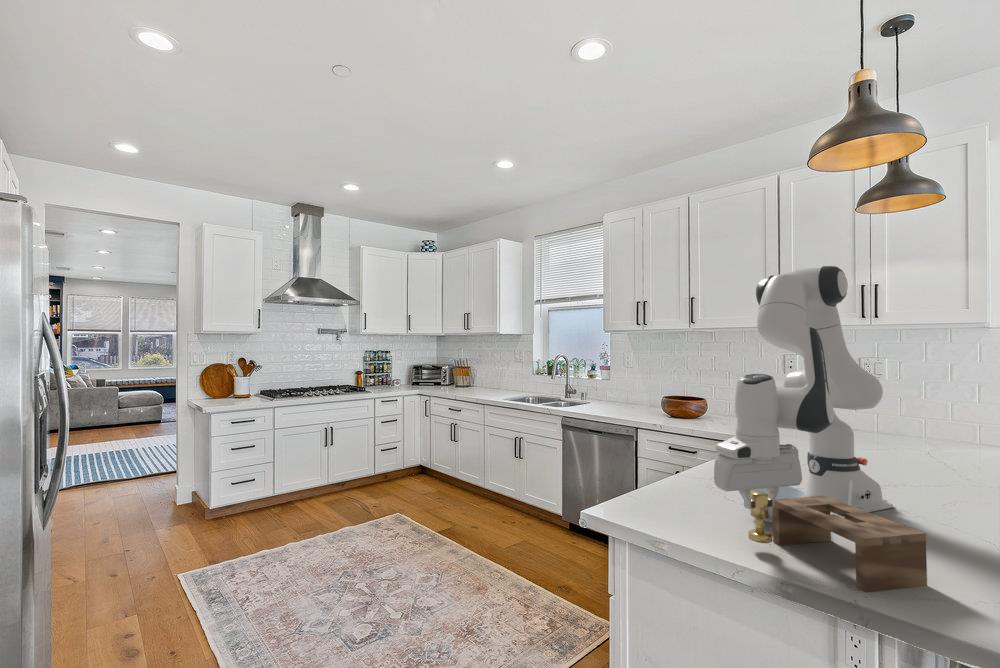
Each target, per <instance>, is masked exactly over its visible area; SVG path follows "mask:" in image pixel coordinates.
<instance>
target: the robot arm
mask: <svg viewBox="0 0 1000 668" xmlns="http://www.w3.org/2000/svg"><path fill="white" fill-rule="evenodd" d="M845 274H846V273H845V272H844V271H843V269H841V268H840V267H838V266H834V265H823V266H821V267H812V268H811V267H810V268H802V269H796V270H794V271H788V272H783V273H780V274H777V275H770V276H766V277H764V278H762V279H761V280H760V281H759V282H758V283H757V285H756V288H755V289H756V290H755V298H756V301H757V303H758V305H759V307H758V311H757V318H756V327H757V331H758V333H759V335H760V336H761V337H762V339H764V340H765V341H766V342H768V343H769V344H771V345H773V346H775V347H777V348H780V349H783V350H786V351H789V352H792V353H795V354H797V355H799V356H801V357H802V358H803V363H804V366H803V367H804V369H799V370H794V371H791V372H789V373H788V374H787V375H786V376H785V378H784V380H783V385H782V386H777V384H776V381H775V378H774V376H771V375H769V374H765V373H751V374H745V375H742V376H741V377H739V378H737V381H736V388H735V396H734V399H735V400H734V413H735V418H736V420H737V421H736V423H737V424H736V428H735V435H734V436H732V437H730V438H729V439H725V440H724V441H723V440H722V442H719V443H717V444H716V445H715V452H716V453H717V454H718V455H717V456H716V458H715V460H714V466H713V468H714V469H713V470H714V471H713V483H714V484H715V486H716V487H717V488H718V489H719V490H722V491H725V492H736V491H737V492H738V493H739V495H740V496H741V498H742V499H743V507H744V508H746V509H748V510H751V509H753V508H755V501H753V500H751V499H750V497H749V495H748V494H750V489H762V488H767V489H768V490H769V491H768V507H774V499H775V498H776V496H777V494H778V492H779V487H785V486H790V487H795V486H796V487H797V486H800V484H801V483H802V482H803V474H802V466H801V460H800V458H799V449H798V448H797V447H796V446H795V445H794V444H792V443H785V444H780V441H781V440H780V431H779V429H789V430H796V431H801V432H807V435H808V436H807V437H808V452H807V455H806V458H807V459H806V460H807V461H806V463H807V467H808V471H807V481H806V485H805V486H806V487H805V491H804V492H805V493H806V497H812V496H825V497H828V498H831V499H834V500H836V501H839V502H842V503H845V504H847V505H850V506H853V507H855V508H858V509H861V510H864V511H866V512H869V513H873V512H878V511H882V510H887V509H892V508H894V505H893V504H894V503H892V502H891V501H890V500H886V499H884V498H883V493H882V487H881V485H880V484H879V482H878V481H875V480H874V479H873V478H872V477H871V476H869V475H868V474H866V473H865V472H864V471H863V470H862V469H861V466H860V465H862V466H867V465H868V461H869V460H868V459H867V458H863V457H856V455H855V433H854V430H853V429H852V427H851V426H850V425H849V424H848V423H846V422H844V421H843V420H841V419H840V418H839V416H838V415H837V414H836V412H835V410H834V409H841V410H842V409H844V410H851V411H856V410H857V411H858V410H868V409H869V410H870V409H874V408H875V407H877V406H878V404H879V403H880V402H881V400H882V397H883V394H884V393H883V392H884V391H883V386H882V383H881V381H880V380H879V379H878V378H877V377H876V376H875V375H873V374H871V373H870V372H868V371H866V370H865V369H864V368H863V367H862V366H860V364H859V363H857V361H855V359H854V358H853V357H852V355H851V353H850V352H849V350H848V348H847V345H846V341H845V337H844V333H843V330H842V329H843V328H842V324H841V318H840V315H839V311H838V308H837V305H838V304H840V303H841V302H843V300H844V299H845V298H846V297H847V294H848V288H849V287H848V286H849V283H848V280H847V277H846V275H845Z"/></svg>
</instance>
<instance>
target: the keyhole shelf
mask: <svg viewBox="0 0 1000 668" xmlns="http://www.w3.org/2000/svg"><path fill="white" fill-rule="evenodd" d="M831 513H833V514H831ZM772 514H773V523H772V543H775V544H776V545H778V546H784V545H785V546H787V545H795V544H806V543H807V544H808V543H818V542H829V541H832V533H833V534H835V535H838V536H840V537H842V538H844V539H847V540H849V541H851V542H853V543H855V544H854V545H855V546H854V547H855V549H854V550H855V584H856V585H855V587H856V588H857V589H859V590H860V591H863V592H865V593H871V592H879V591H881V592H882V591H888V590H889V591H890V590H897V589H898V590H899V589H906V588H915V587H923V586H928V566H927V565H928V564H927V534H926V532H924V531H921V530H918V529H916V528H913V527H910V526H908V525H904V524H902V523H899V522H897V521H894V520H890V519H889V518H888V519H887V518H886V517H883V516H880V515H877V514H874V513H873V512H866V511H864V510H861V509H858V508H855V507H853V506H850V505H847V504H845V503H842V502H839V501H836V500H834V499H831V498H828V497H825V496H812V497H798V498H784V499H774V507H772Z"/></svg>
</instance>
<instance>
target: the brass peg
mask: <svg viewBox="0 0 1000 668" xmlns="http://www.w3.org/2000/svg"><path fill="white" fill-rule="evenodd" d="M750 499H751V500H753V501H755V508H753V509H750V516H751V517H753V518H754V520H755V521H754V522H755V523H754V524H755V528H754V529H749V530H748V531H747V532H748V533H747V534H748V535H747V536H748V537H747V538H748V539H749V540H750V541H752V542H755V543H760V544H770V543H773V533H772V532H769V531H768V530H767V531H766V530H765V521H764V519H766V518H768V517H769V513H768V494H767V493H764V492H759V491H752V492H750Z"/></svg>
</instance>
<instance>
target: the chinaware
mask: <svg viewBox="0 0 1000 668" xmlns="http://www.w3.org/2000/svg"><path fill="white" fill-rule="evenodd" d="M752 491H759V492H764V493H767V494H768V491H769V490H768V489H767V488H762V489H750V492H752ZM748 495H749V497H750V494H748ZM798 497H806V493H805V491H803V490H802V489H800V488H797V487H795V486H785V487H779V492H778V494H777V496H776V498H775V499H784V498H798ZM768 513H769V517H768V518H766V519H764V522H765V523H771V524H773V514H772V507H768Z"/></svg>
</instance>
